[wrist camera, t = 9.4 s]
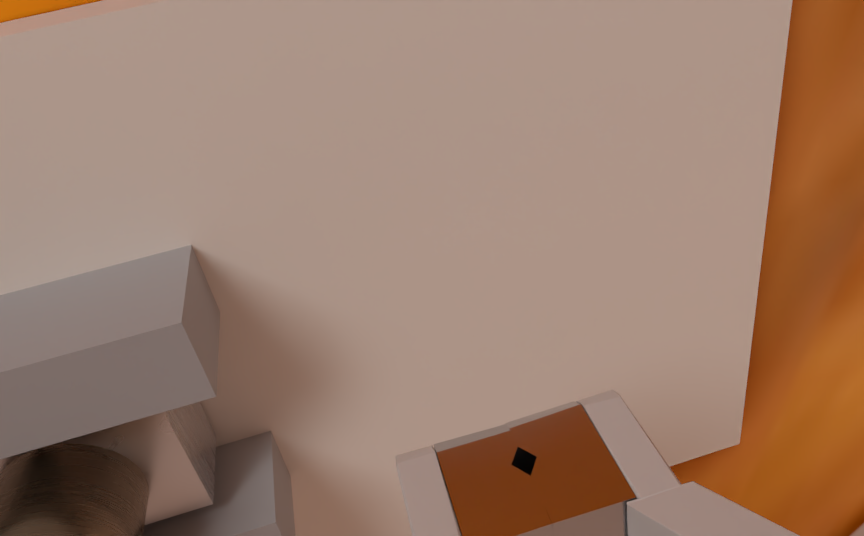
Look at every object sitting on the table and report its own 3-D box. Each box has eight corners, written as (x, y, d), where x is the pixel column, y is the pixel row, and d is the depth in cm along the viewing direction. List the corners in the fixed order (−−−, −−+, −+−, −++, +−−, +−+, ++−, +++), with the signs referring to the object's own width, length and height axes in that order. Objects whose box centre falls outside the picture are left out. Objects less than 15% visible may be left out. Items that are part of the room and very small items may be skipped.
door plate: (751, -143, 12) (1157, -148, 7) (708, 407, 20) (884, 611, 14) (-865, 212, 9) (-2356, 684, 4) (-194, 693, 17) (-396, 1080, 12)
